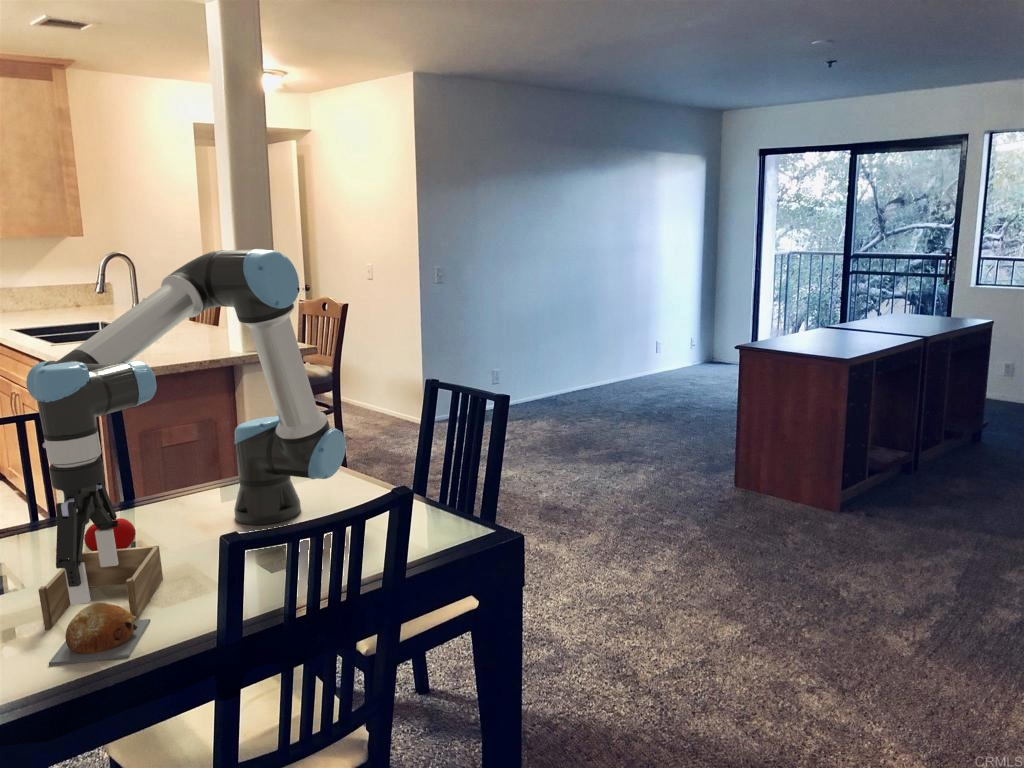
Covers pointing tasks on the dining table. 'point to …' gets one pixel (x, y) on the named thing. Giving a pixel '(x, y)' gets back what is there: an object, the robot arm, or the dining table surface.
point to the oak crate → (107, 581)
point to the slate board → (122, 651)
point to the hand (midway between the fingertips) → (95, 583)
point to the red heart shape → (121, 534)
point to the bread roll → (99, 628)
